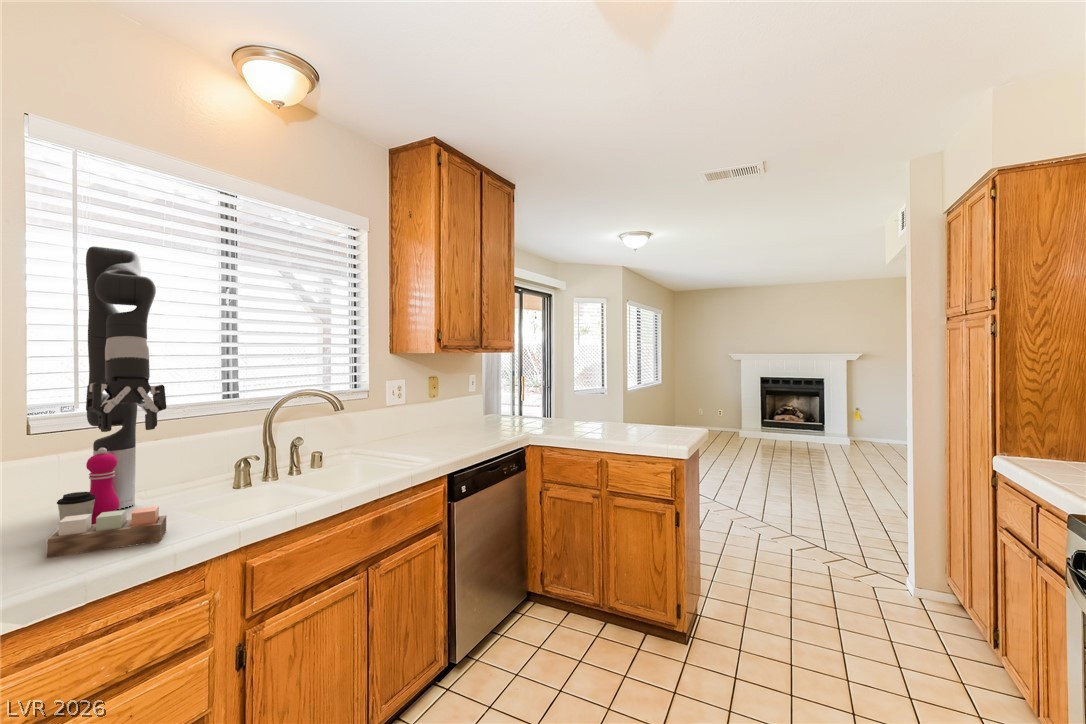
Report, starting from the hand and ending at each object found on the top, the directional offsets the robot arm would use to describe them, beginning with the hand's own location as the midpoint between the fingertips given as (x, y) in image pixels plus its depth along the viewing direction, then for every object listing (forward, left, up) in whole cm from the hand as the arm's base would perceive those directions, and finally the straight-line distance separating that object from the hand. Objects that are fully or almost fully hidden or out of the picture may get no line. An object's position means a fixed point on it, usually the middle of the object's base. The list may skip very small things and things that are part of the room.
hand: (129, 430), depth 105 cm
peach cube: (-6, +9, -25) cm, 27 cm away
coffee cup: (-25, +8, -28) cm, 38 cm away
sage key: (-11, +5, -25) cm, 28 cm away
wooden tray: (-11, +5, -28) cm, 30 cm away
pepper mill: (-28, +16, -28) cm, 42 cm away
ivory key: (-15, +1, -25) cm, 29 cm away
